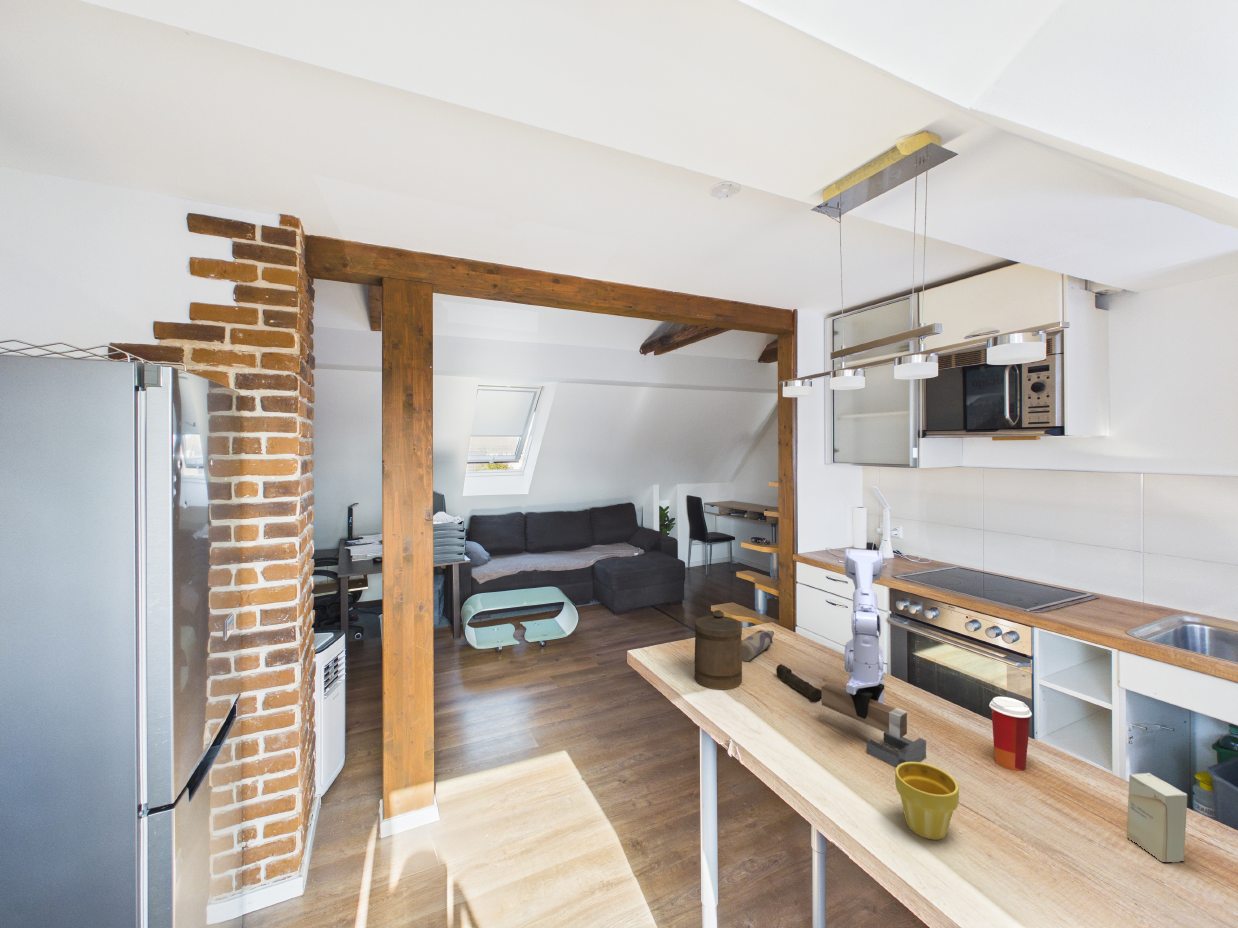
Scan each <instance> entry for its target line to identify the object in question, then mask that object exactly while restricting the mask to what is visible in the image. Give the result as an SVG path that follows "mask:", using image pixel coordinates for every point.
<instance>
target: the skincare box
mask: <svg viewBox="0 0 1238 928" xmlns="http://www.w3.org/2000/svg"><path fill="white" fill-rule="evenodd" d="M1128 778H1129V780H1128V781H1129V783H1128V798H1127V799H1128V800H1127V816H1126V817H1127V821H1126V822H1127V823H1126V838H1127V837H1128V838H1129V839H1128V838H1127V839H1128V840H1130V841H1131V840H1132V841H1134V842H1135V843H1137V844H1138V845H1140V846H1141V847H1142V848H1143V849H1142V848H1141V847H1140V848H1141V849H1142V850H1144V849H1145V850H1146V851H1148V852H1149V853H1151V854H1152V855H1153V856H1155V857H1156V858H1158V859H1159V860H1160V861H1162V862H1172V863H1181V862H1180V861H1185V847H1186V831H1187V830H1186V827H1187V825H1186V824H1187V808H1188V807H1187V806H1188V794H1187V793H1186V792H1184V791H1182V790H1180V789H1179V788H1177V787H1175V786H1173V785H1172V784H1170V783H1168V782H1166V781H1165V780H1162V779H1160V778H1159V777H1157V776H1156V775H1154V774H1152V773H1151V772H1142V773H1129V777H1128ZM1132 841H1131V842H1132ZM1134 842H1133V843H1134ZM1135 843H1134V844H1135ZM1137 844H1136V845H1137ZM1138 845H1137V846H1138ZM1145 850H1144V851H1145ZM1146 851H1145V852H1146ZM1148 852H1147V853H1148ZM1149 853H1148V854H1149ZM1151 854H1150V855H1151ZM1152 855H1151V856H1152ZM1153 856H1152V857H1153ZM1155 857H1154V858H1155ZM1156 858H1155V859H1156ZM1158 859H1157V860H1158ZM1159 860H1158V861H1159ZM1160 861H1159V862H1160ZM1162 862H1161V863H1162Z"/></svg>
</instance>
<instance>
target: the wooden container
mask: <svg viewBox="0 0 1238 928" xmlns="http://www.w3.org/2000/svg"><path fill="white" fill-rule="evenodd" d="M694 627H695V628H694V632H695V633H694V634H695V635H694V640H695V641H694V680H695V681H696V682H697V684H699V685H701V686H703V687H705V688H709V689H712V690H731V689H736V688H737V687H739V686H741V684H742V683H743V661H742V635H743V634H742V632H743V625H742V622H741V621H740V620H738V619H736V618H733V617H730V616H729V617H728V616H725V613H724V612H723V611H722V610H720V609H715V610H714V611H713V612H712V615H705V616H701V617H699V618H697V619H696V620H695V624H694Z"/></svg>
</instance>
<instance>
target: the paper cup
mask: <svg viewBox="0 0 1238 928" xmlns="http://www.w3.org/2000/svg"><path fill="white" fill-rule="evenodd" d="M988 706H989V708H991V719H992V720H991V721H992V723H991V724H992V737H993V741H992V742H993V752H994V754H993V755H994V760H995V763H997V764H998V765H999V766H1000V767H1002V768H1004V769H1007V770H1011V771H1015V772H1023V771H1025V770H1026V765H1027V754H1028V745H1029V734H1030V718H1031V716H1033V713H1032V711H1031V710H1030V707H1029V706H1028V704H1026V703H1025V702H1023V701H1021V700H1018V699H1015V698H1012V697H1007V696H995V697H993V698H992V700H991V701H990V702H989V705H988ZM1024 769H1025V770H1024ZM1022 770H1023V771H1022Z"/></svg>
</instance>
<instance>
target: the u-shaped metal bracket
mask: <svg viewBox="0 0 1238 928" xmlns="http://www.w3.org/2000/svg"><path fill="white" fill-rule="evenodd" d="M884 744H886V745H887V746H890V747H892V748H890V747H887V746H885V745H884ZM893 748H894V749H896V750H898V751H896V750H894V749H893ZM866 753H867V754H869V755H870V756H873V757H874V758H876V759H879V760H880V761H883V762H884V763H886V764H888V765H890V766H893V767H895V768H896V767H897V766H898V765H899V764H901V763H905V762H920V763H921V762H922V761H923V760H925V759H926V758H927V740H926V739H923V738H920V737H919V738H917V739H915V740H914V741H913V740H911V739H908V738H906V737H905V736H903V737H901V738H900V739H899V738H897V737H895V736H892V735H890V734H888V733H885V732H883V744H881V743H879V742H878V741H875V740H873V739H871V740H868V741H866Z"/></svg>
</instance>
